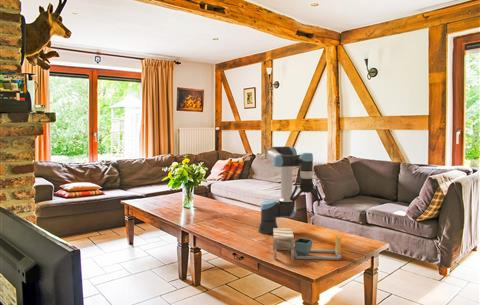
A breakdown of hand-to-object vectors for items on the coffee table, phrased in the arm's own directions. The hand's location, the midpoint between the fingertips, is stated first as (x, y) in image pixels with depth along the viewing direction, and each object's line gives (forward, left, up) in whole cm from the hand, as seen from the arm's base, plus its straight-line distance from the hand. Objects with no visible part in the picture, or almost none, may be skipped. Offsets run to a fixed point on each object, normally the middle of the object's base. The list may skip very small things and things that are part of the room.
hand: (305, 211), depth 225 cm
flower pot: (+3, -2, -27) cm, 27 cm away
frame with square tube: (+4, +6, -27) cm, 28 cm away
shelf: (+4, -14, -27) cm, 30 cm away
